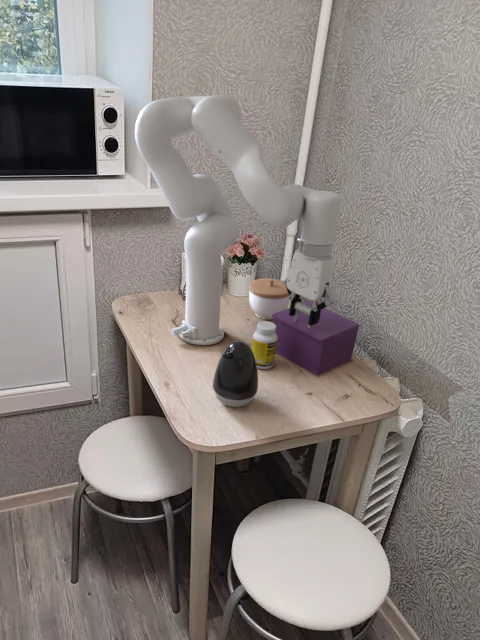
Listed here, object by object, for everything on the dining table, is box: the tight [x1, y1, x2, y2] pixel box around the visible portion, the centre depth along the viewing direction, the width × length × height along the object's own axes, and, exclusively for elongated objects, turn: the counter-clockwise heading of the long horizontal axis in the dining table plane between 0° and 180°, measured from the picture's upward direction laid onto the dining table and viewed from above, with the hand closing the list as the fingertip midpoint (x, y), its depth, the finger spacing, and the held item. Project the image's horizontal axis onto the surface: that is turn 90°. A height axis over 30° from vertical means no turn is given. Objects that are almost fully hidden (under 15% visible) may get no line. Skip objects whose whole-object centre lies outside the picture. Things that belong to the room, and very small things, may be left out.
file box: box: [272, 318, 360, 377], centre depth 137 cm, size 14×17×10 cm
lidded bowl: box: [248, 277, 291, 320], centre depth 156 cm, size 13×13×11 cm
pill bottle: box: [250, 320, 278, 370], centre depth 132 cm, size 6×6×11 cm
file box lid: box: [272, 300, 360, 342], centre depth 132 cm, size 14×17×6 cm
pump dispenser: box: [212, 340, 259, 408], centre depth 116 cm, size 10×10×15 cm
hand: (303, 318), depth 130 cm, fingers closed on file box lid, 5 cm apart
